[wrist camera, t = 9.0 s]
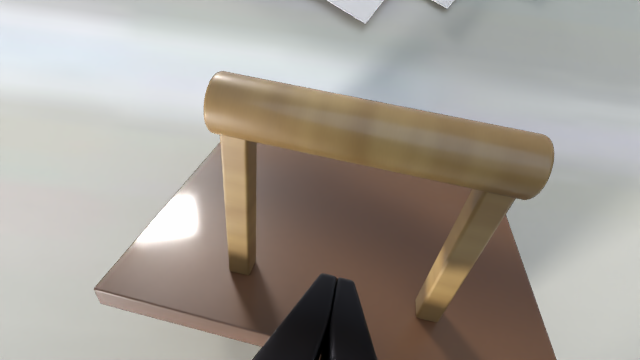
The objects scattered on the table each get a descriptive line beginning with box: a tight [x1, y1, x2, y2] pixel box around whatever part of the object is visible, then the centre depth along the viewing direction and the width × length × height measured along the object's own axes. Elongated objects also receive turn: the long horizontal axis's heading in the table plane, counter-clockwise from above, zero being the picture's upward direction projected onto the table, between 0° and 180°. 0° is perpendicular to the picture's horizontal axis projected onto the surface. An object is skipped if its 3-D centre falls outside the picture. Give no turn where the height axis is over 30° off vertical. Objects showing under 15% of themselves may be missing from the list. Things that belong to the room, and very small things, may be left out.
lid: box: [94, 71, 556, 360], centre depth 12 cm, size 10×14×7 cm
